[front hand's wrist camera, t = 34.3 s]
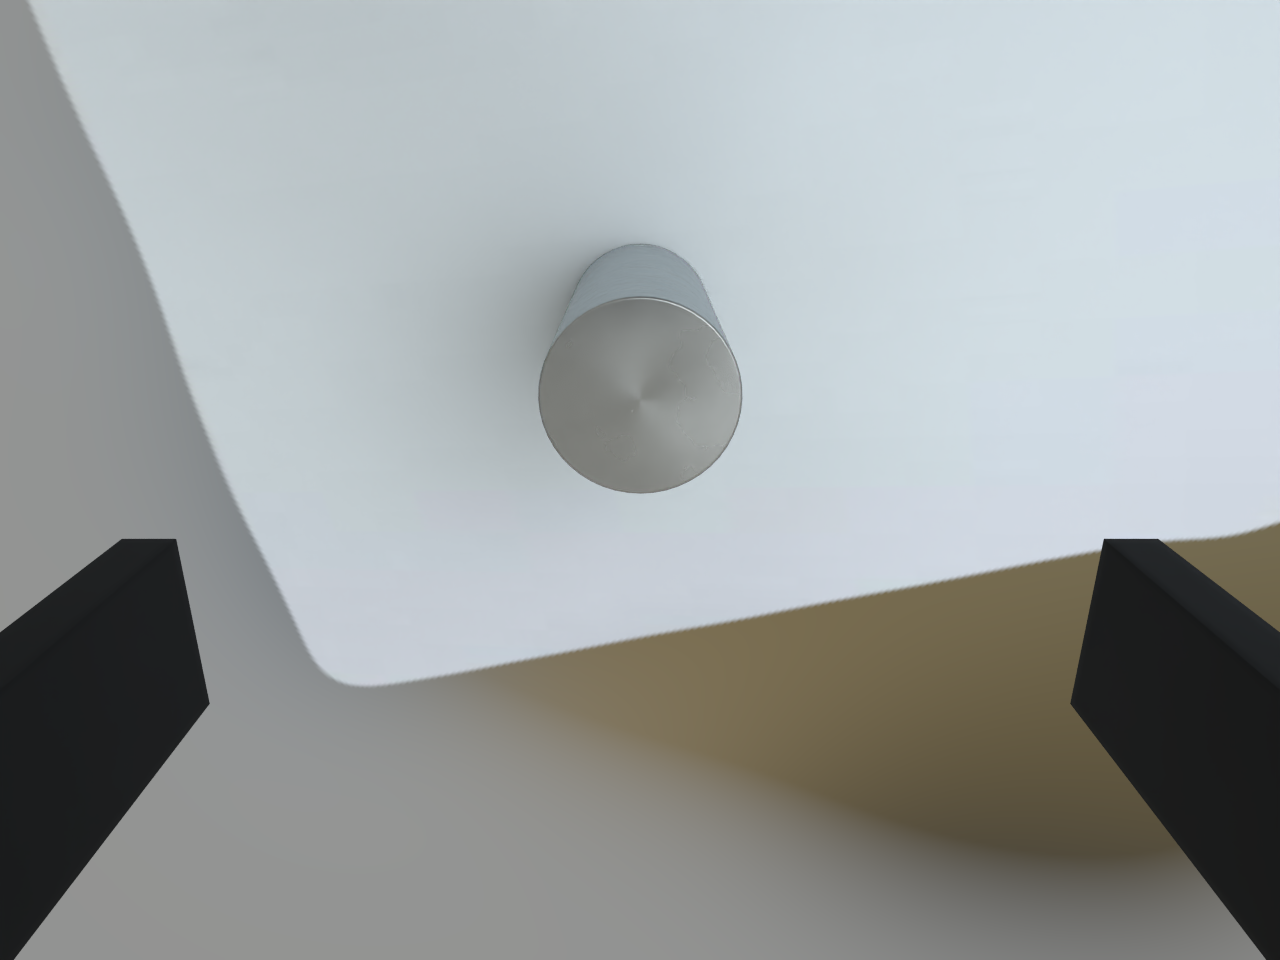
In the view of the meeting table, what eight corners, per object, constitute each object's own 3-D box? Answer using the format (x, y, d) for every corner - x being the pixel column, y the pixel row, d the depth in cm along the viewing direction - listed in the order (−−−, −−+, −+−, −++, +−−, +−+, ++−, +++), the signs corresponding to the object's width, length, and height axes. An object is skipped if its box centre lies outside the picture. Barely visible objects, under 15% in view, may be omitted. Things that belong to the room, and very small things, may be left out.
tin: (593, 395, 37) (571, 514, 25) (554, 264, 35) (511, 327, 23) (722, 361, 37) (762, 467, 25) (690, 227, 35) (716, 271, 23)
